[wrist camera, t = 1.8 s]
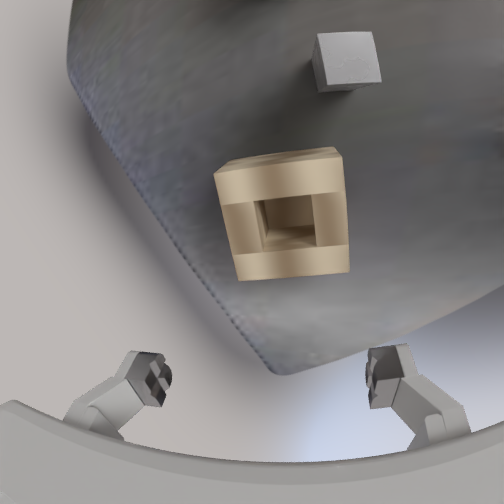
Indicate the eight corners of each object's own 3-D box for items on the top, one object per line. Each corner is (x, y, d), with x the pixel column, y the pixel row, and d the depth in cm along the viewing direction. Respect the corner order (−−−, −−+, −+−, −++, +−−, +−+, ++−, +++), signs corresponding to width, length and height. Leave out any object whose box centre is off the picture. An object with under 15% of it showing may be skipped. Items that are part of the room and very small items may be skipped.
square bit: (347, 56, 22) (371, 31, 13) (353, 90, 23) (381, 82, 14) (311, 58, 22) (317, 33, 14) (317, 92, 24) (327, 84, 15)
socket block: (333, 146, 26) (341, 157, 21) (342, 242, 30) (349, 272, 25) (230, 160, 28) (213, 173, 23) (249, 250, 33) (238, 281, 27)
